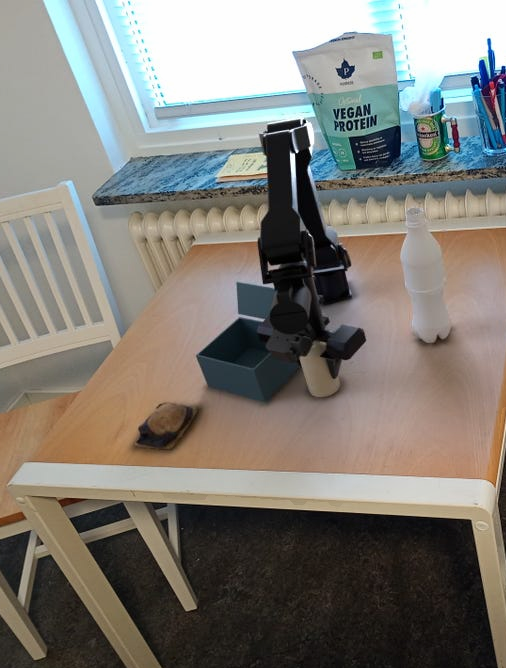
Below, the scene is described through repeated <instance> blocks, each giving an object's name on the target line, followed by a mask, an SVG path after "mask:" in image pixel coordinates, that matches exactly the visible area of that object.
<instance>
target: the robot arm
mask: <svg viewBox="0 0 506 668" xmlns="http://www.w3.org/2000/svg"><path fill="white" fill-rule="evenodd" d="M258 137H259V141H260V145H261V151H262V155H263V156H265V157H266V182H267V183H266V185H267V211H266V213H265V214H264V216H263V218H262V219H261V220H260V229H259V231H260V234H259V237H257V251H258V258H259V266H260V272H261V280H262V281H261V282H262V284H263V285H270V284H273V288H275V293H274V297H273V302H272V306H271V310H270V315H269V316H268V317H267V318H266V319H263V321H262V323H261V324H260V325H259V326H258V329H257V334H258V337H259V340H260V341H261V342H265V343H267V344H266V348H267V349H268V351H269V352H270V353H271V354H272V356H273V357H274V358H275V359H276V360H281V361H285V362H288V363H296V362H297V363H298V364H299V366H300V367H299V368H301V370H303V368H302V365H301V362H300V356H302V357H306V356H307V355H308V353H309V351H310V349H311V347H312V343H313V342H315V343H317V342H318V341H320V342H325V344H326V350H325V351H324V352H323V353H322V354H321V355H320V357H322V358H325V359H326V361H327V364H328V368H329V371H330V374H331V376H332V378H333V379H336V377H337V376H338V377H339V372H340V368H341V365H342V360H343V361H348V360H351V359H352V358H353V356H354V355H355V354H356V353H357V352H358V351H359V350H360V349H361V348H362V346H364V344H365V343H366V342H367V337H366V333H365V330H364V328H361V327H357V326H352V325H347V324H343V323H342V324H341V325H340V326H339V327H338V328H336V329H327V326H328V325H329V324H330V321H331V320H330V318H329V316H324V314H323V311H322V306H325V305H329V304H333V303H336V302H339V301H343V300H347V299H350V298H352V297H353V293H352V292H351V289H350V286H349V282H348V277H347V274H346V272H348V270H349V268H351V267H352V260H351V257H350V254H349V251H348V250H347V248H346V246H345V245H344V243H343V242H340V239H339V236H338V233H337V232H336V231H335V230H334V229H333V228H331V226H329V225H328V224H327V223H326V220H325V219H326V218H325V216H324V213H323V209H322V205H321V202H320V197H319V194H318V192H317V187H316V183H315V180H314V176H313V173H312V170H311V166H310V164H311V161H312V159H313V146H314V144H315V135H314V130H313V126H312V123H311V122H308V120H307V118H304V117H303V116H302V117H295V118H288V119H285V120H278V121H272V122H268V123H267V124H266V130H262V131H260V132H259V133H258ZM269 266H271V267H274V266H278V268H274V269H269Z"/></svg>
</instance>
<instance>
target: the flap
mask: <svg viewBox="0 0 506 668" xmlns="http://www.w3.org/2000/svg"><path fill="white" fill-rule="evenodd" d="M235 283H236V285H235V286H236V300H237V301H236V302H237V314H238V315H241V316H246V317H252V318H256V319H261V320H265V319H266V318H267V317H268V316H269V315H270V310H271V306H272V302H273V297H274V293H275V288H274V287H271V286H265V285H260V284H253V283H247V282H242V281H236V282H235Z"/></svg>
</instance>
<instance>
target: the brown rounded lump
mask: <svg viewBox="0 0 506 668" xmlns="http://www.w3.org/2000/svg"><path fill="white" fill-rule="evenodd" d="M198 410H199V408H198V406H196V405H192V404H179V403H173V402H164V403H159V404H158V406H156V407H155V410H154V411H153V412H152V414H151V415H149V416H148V417H147V418H146V419H145V421H144V422H143V423H142V424H140V425H139V426H138V429H137V430H138V433H139V436H138V437H137V439H136V441H135V443H134V446H135V447H136V448H142V449H148V450H150V449H154V450H169V451H170V450H172V449H173V448H174V447H175V445H176V444H177V443H178V441H180V438H182V437H183V435H184V433H185V431H186V430H187V429H188V428H189V426H190V425H191V423H192V421H193V420H194V418H195V416H196V415H197V413H198Z"/></svg>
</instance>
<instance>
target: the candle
mask: <svg viewBox="0 0 506 668" xmlns="http://www.w3.org/2000/svg"><path fill="white" fill-rule="evenodd" d="M325 350H326V344H325V342H320V341H318V342H317V343H315V342H313V343H312V347H311V349H310V351H309V353H308V355H307V356H306V357H302V356H300V362H301V365H302V368H303V369H302V368H301V369H302V372H303V375H304V378H305V381H306V386H307V388H308V392H309V393H310V394H311V395H312V396H313V397H316V398H325V397H329V396H332V395H333V394H335V393H337V391H338V390H339V389H340V385H341V383H340V378H339V375H338V376H337V377H336V379H333V378H332V376H331V374H330V371H329V368H328V364H327V361H326V359H325V358H322V357H320V355H321V354H322V353H323V352H324V351H325Z"/></svg>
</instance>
